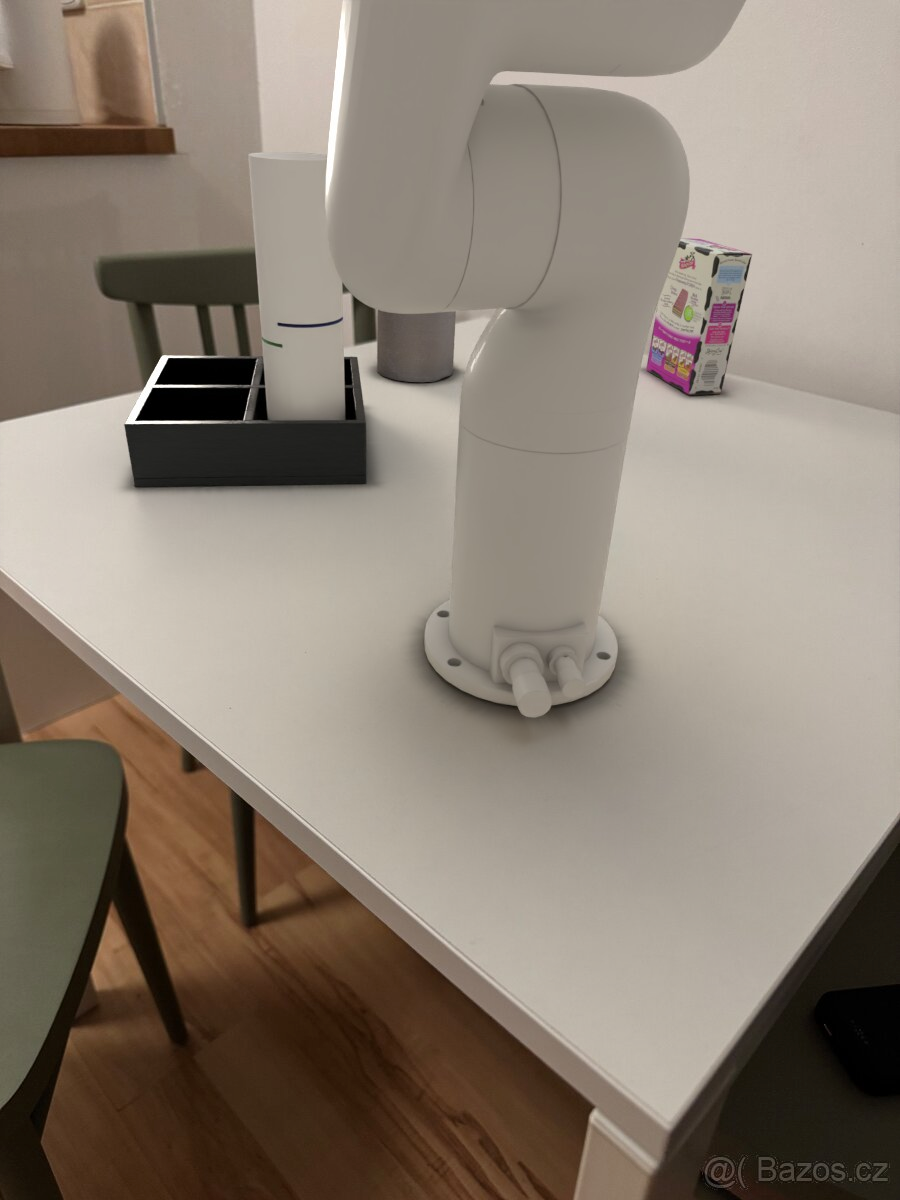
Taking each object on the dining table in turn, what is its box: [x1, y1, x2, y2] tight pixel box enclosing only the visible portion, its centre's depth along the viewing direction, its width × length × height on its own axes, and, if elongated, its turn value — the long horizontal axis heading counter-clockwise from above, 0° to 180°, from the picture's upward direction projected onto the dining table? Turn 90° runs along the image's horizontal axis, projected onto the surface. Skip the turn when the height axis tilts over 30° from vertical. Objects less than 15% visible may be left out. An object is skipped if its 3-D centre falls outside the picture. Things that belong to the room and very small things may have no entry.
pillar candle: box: [376, 310, 457, 383], centre depth 102 cm, size 10×10×15 cm
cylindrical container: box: [247, 151, 345, 420], centre depth 73 cm, size 7×7×25 cm
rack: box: [123, 355, 368, 488], centre depth 82 cm, size 20×20×6 cm
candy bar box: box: [645, 237, 753, 396], centre depth 103 cm, size 11×5×16 cm, turn 17°
